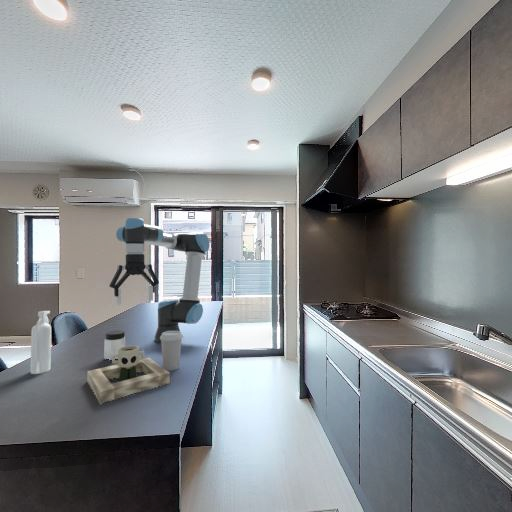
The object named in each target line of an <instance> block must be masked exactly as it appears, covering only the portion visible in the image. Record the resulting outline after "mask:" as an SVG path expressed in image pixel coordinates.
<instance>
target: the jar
mask: <svg viewBox="0 0 512 512" xmlns="http://www.w3.org/2000/svg"><path fill="white" fill-rule="evenodd" d="M125 334H126V332H125V330H123V329H122V330H110V331H107V332H105V339H104V341H103V343H104V345H103V346H104V347H103V348H104V351H103V352H104V355H103V359H104V360H106V359H109V360H108V361H110V360H112V356H113V355H115V354H118V349H119V348H121V347H124V346H126V335H125ZM115 359H118V357H115Z"/></svg>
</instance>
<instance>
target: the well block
mask: <svg viewBox="0 0 512 512" xmlns="http://www.w3.org/2000/svg"><path fill="white" fill-rule="evenodd" d="M135 367H136V372H139V373H143V372H144V373H145V374H146V375H145V374H144V373H143V375H139V376H137V377H136V378H132V379H128V380H124V381H121V382H119V381H117V382H114V383H111V382H110V380H109V379H112V380H114V379H113V378H116V379H118V378H117V377H119V376H120V370H121V368H122V367H119V365H118V363H116V364H112V365H108V366H105V367H100V368H96V369H92V370H87V372H86V373H87V374H86V375H87V377H86V379H87V380H86V382H87V384H88V386H89V385H90V386H89V388H90V389H91V391H92V390H93V391H92V392H94V393H93V394H94V396H95V395H96V396H95V397H97V398H96V399H98V400H99V401H98V400H97V401H98V403H99V402H100V403H103V402H107V401H110V400H113V399H116V398H119V397H123V396H126V395H130V394H133V393H136V392H139V391H143V390H146V389H150V388H153V389H155V388H154V387H156V388H159V387H158V386H160V387H162V385H163V386H166V385H169V383H170V382H171V381H170V376H171V375H170V373H171V372H170V371H167V370H165V369H164V368H163V366H161V365H160V364H159V363H157V362H156V361H154V360H153V359H151V358H150V357H144V358H143V359H141V360H139V361H138V363H137V364H136V365H135ZM141 371H143V372H141ZM165 384H166V385H165ZM150 390H151V389H150ZM143 392H144V391H143ZM133 395H134V394H133ZM130 396H131V395H130ZM110 402H111V401H110ZM100 403H99V404H100ZM107 403H108V402H107Z"/></svg>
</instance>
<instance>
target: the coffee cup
mask: <svg viewBox="0 0 512 512" xmlns="http://www.w3.org/2000/svg"><path fill="white" fill-rule="evenodd" d="M183 337H184V336H183V334H182V332H181V330H180V331H166V332H163V333H162V335H161V337H160V340H161V343H160V344H161V345H160V346H161V356H162V368H164V369H165V370H167V371H168V372H170V371H175V370H177V369H179V367H180V361H181V360H180V358H181V350H182V349H181V348H182V339H183Z"/></svg>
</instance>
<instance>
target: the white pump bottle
mask: <svg viewBox="0 0 512 512" xmlns="http://www.w3.org/2000/svg"><path fill="white" fill-rule="evenodd" d="M49 314H51V310H41V311H40V310H39V311H38V312H37V317H38V320H37V321H36V324H35V325H33V326H32V327H31V334H30V335H31V336H30V337H31V340H30V368H29V369H30V374H31V375H40V374H44V373H47V372H49V371H50V370H51V361H52V360H51V359H52V325H51V324H49V323H50V319H49V317H48V315H49Z"/></svg>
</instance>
